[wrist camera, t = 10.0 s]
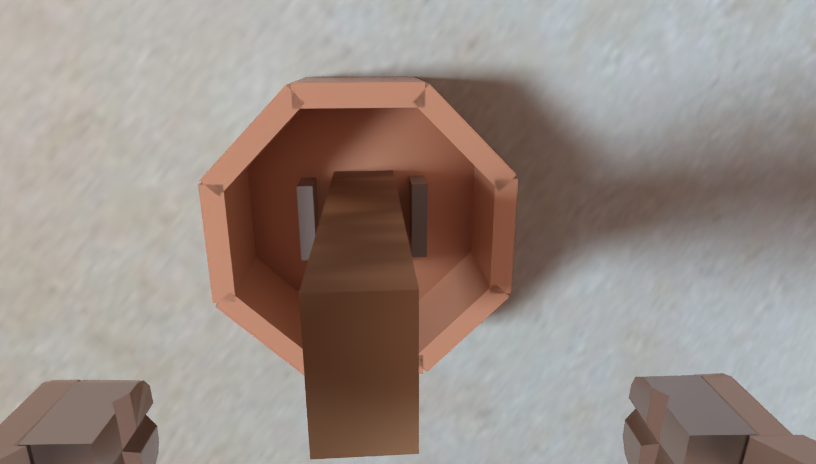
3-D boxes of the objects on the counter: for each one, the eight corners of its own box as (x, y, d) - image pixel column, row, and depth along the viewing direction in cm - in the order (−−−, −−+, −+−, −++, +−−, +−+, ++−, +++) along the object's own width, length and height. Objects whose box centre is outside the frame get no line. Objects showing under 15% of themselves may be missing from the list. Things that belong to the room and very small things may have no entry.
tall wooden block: (392, 170, 22) (418, 289, 11) (394, 261, 24) (418, 453, 12) (333, 171, 22) (298, 293, 11) (338, 263, 23) (310, 459, 12)
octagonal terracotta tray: (493, 76, 22) (524, 81, 18) (483, 317, 25) (506, 369, 21) (222, 78, 21) (185, 83, 17) (247, 325, 25) (222, 381, 20)
